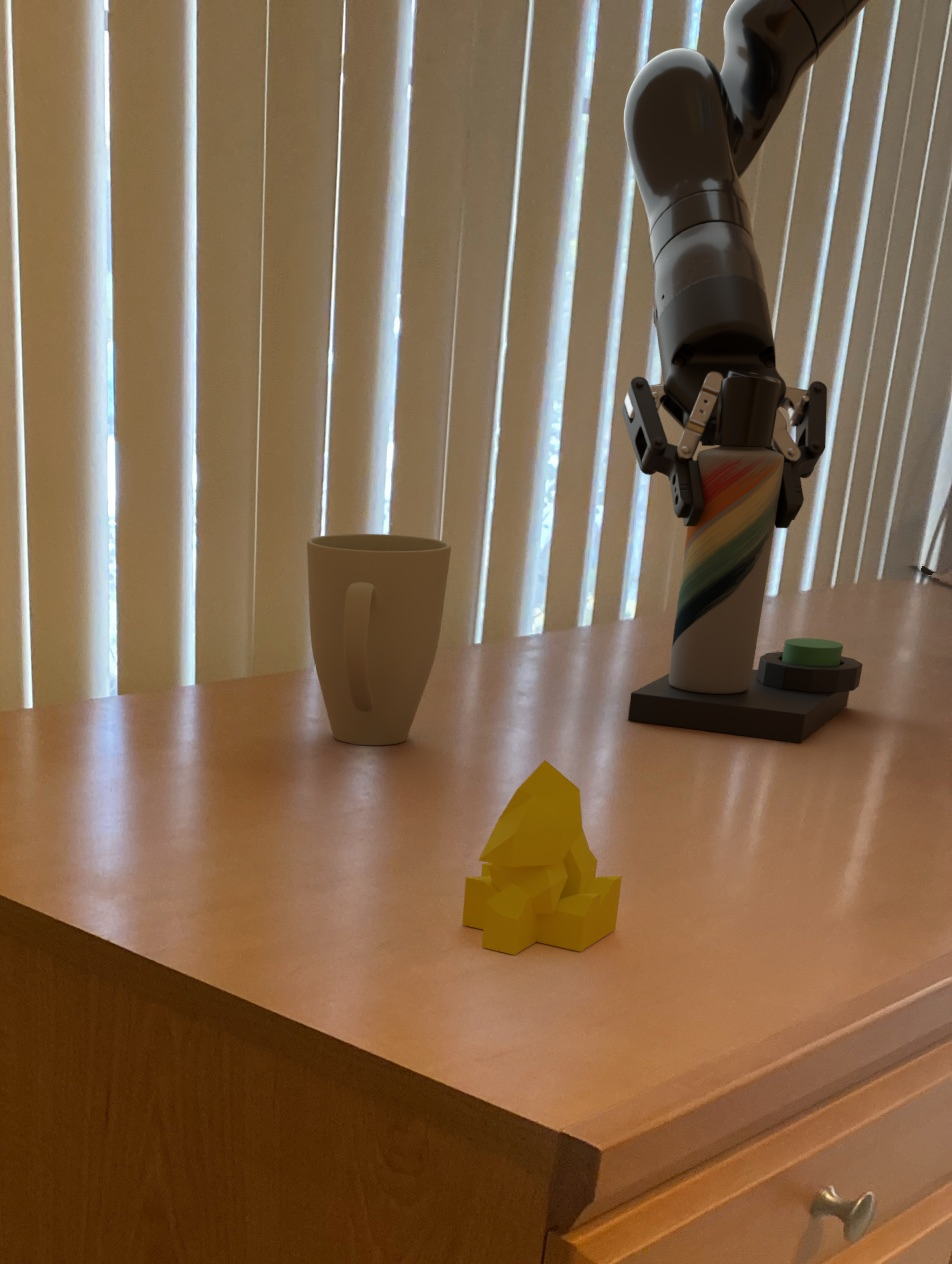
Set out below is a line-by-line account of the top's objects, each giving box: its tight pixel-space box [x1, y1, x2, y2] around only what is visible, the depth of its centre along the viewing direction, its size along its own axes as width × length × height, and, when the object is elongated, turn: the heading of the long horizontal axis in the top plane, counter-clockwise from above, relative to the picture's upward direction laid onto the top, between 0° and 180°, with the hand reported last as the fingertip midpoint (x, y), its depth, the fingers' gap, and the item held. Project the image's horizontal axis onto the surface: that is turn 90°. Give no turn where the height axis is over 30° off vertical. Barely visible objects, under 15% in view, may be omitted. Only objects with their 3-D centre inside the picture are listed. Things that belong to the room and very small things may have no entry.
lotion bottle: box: [668, 370, 784, 694], centre depth 110 cm, size 6×6×20 cm
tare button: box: [782, 637, 844, 666], centre depth 116 cm, size 4×4×2 cm
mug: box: [306, 533, 452, 746], centre depth 103 cm, size 11×10×12 cm
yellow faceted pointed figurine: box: [461, 759, 623, 956], centre depth 72 cm, size 6×8×8 cm
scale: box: [627, 651, 863, 744], centre depth 115 cm, size 14×13×4 cm
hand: (741, 518), depth 108 cm, fingers closed on lotion bottle, 5 cm apart
